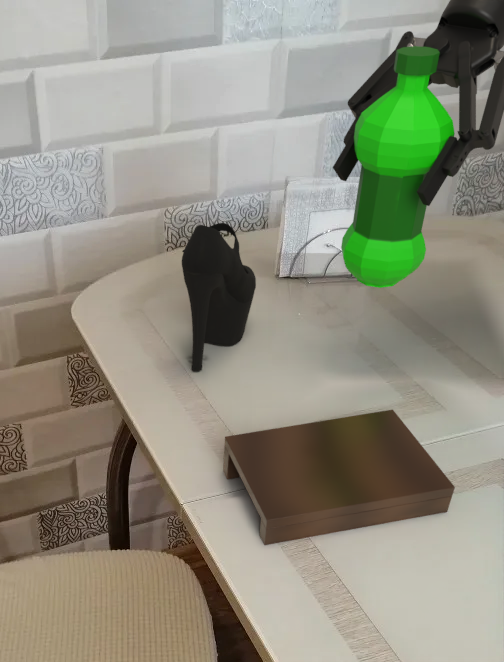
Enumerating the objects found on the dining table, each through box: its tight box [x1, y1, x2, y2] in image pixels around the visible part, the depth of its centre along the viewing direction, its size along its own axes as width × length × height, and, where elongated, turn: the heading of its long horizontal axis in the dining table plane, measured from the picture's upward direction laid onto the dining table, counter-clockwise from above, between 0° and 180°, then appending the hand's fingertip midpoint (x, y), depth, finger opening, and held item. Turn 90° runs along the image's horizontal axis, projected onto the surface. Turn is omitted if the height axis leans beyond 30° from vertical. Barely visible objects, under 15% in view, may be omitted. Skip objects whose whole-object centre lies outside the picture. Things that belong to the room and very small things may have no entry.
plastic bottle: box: [340, 46, 455, 289], centre depth 90 cm, size 10×10×25 cm
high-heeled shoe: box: [181, 222, 257, 373], centre depth 106 cm, size 8×19×20 cm, turn 155°
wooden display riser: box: [222, 409, 456, 546], centre depth 86 cm, size 20×14×5 cm
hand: (379, 186), depth 89 cm, fingers closed on plastic bottle, 10 cm apart
